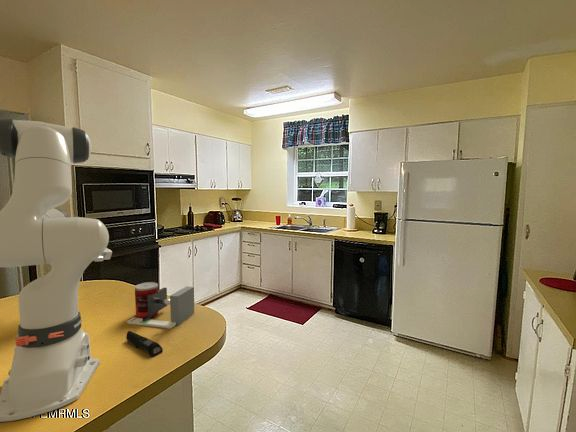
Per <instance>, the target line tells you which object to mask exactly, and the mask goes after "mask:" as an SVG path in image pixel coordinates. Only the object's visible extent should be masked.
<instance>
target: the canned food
mask: <svg viewBox="0 0 576 432" xmlns="http://www.w3.org/2000/svg"><path fill="white" fill-rule="evenodd" d="M158 290H159V284H158V283H157V282H154V281H149V282H141V283H138V284H136V285H135V286H134V298H135V300H134V301H135V316H136V318H145V317H146V316H148V297H147V296H148V295H150V294H152V293H154V292H156V291H158ZM158 314H159V311H158V312H156V313H154V314H153V315H151V318H154V317H155V316H157V315H158Z"/></svg>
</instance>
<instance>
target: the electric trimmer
mask: <svg viewBox="0 0 576 432" xmlns="http://www.w3.org/2000/svg"><path fill="white" fill-rule="evenodd" d="M125 338H126V341H128V342H129V343H130V344H131V345H132V346H133V347H135V348H140V349H142V350H143V351H145V352H147V353H148V356H149V357H153V358H154V357H156V356H158V355H160V354H162V353H163V351H164V350H163V347H162V346H161V345H160V343H158V342H157V341H153V340H152V339H149V338H148V337H145V336H142V335H140V334H138V333H135V332H133V331H132V330H128V331H127V333H126V336H125Z"/></svg>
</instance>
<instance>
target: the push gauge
mask: <svg viewBox="0 0 576 432" xmlns="http://www.w3.org/2000/svg"><path fill="white" fill-rule="evenodd" d="M169 299H170V305H169V306H170V310H169V311H170V321H167V320H159V319H151V318H149V319H148V320H146V321H143V318H138V317H135V316H134V317H133V316H132V318H130V319H128V320H127V321H126V324H131V325H137V326H138V325H139V326H145V327H146V326H148V327H155V328H162V329H163V328H164V329H173V327H175V326H176V325H177V326H179V325H180V324H182V323H184V322H185V321H186V320H187V319H188V317H189V316H190V317H191V316H193V315H194V314H195V287H194V286H185V287H182V288H181V289H179V290H177V291H176V292H174V293H173V294H171V295H169ZM193 313H194V314H193ZM192 314H193V315H192ZM190 317H189V318H190ZM184 320H185V321H184Z"/></svg>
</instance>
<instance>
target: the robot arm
mask: <svg viewBox="0 0 576 432" xmlns="http://www.w3.org/2000/svg"><path fill="white" fill-rule="evenodd" d="M92 149H93V145H92V141H91V138H90V137H89V134H88V133H87V132H86V131H85V130H83V129H81V128H77V127H75V126H73V127H68V126H66V125H60V124H54V123H48V122H44V121H37V120H28V119H27V120H23V119H20V120H19V119H17V120H16V119H15V118H0V155H1V156H3V157H8V158H11V159H15V161H14V180H13V189H12V193H11V195H10V198H9V200H8V202H6V204H5V205H4V207H2V209H1V210H0V268H3V269H4V268H7V269H10V268H18V267H26V266H27V267H28V266H36V265H37V266H39V265H50V266H51V268H50V269H51V270H50V271H49V272H47V273H46V274H45V275H43V276H39V277H38V278H36V279H34V280H32V281H31V282H29V283H28V284H27V285H25V286H24V287H23V288H22V289H21V291H20V292H19V294H18V298H17V300H18V314H19V325H18V327H17V333H16V339H15V346H14V347H13V357H12V363H11V367H10V369H9V371H8V376H9V377H7V378H6V379H4V381H3V383H2V387H1V390H0V422H3V423H4V422H13V421H17V420H22V419H27V418H32V417H35V416H39V415H42V414H46V413H48V412H49V413H50V412H52V411H55V410H57V409H60V408H63V407H64V406H67V405H69V404H71V403H73V402H75V401H76V400H78V399H79V398H80V396H81V394H82V393H83V391H84V390H85V388H86V386H87V385H88V384H89V381H90V380H91V378H92V377H93V374H94V373H95V372H96V370H97V368H98V367H99V365H100V360H99V358H96V357H92V349H91V341H90V334H88V333H87V331H84V330H83V329H82V316H81V312H80V311H79V286H80V281H81V278H82V276H83V274H84V272H85V270H86V269H87V268H88V267H89V265H90V264H91V263H92V262H97V263H98V262H104V260H111V257H112V254H113V251H112V250H111V249H109V248H108V245H109V241H110V235H109V231H108V228H107V226H106V225H105V224H104V223H103V222H102V221H101V220H100V219H97V218H90V217H82V216H81V217H80V216H70V215H69V214H68V213H66V212H65V211H64V210H62V209H60V208H57V207H60V206H62V205H64V204H65V203H66V202H68V201H69V200H70V198H71V197H72V194H73V182H72V181H73V180H72V179H73V178H72V163H73V164H82V163H85V162H86V161H88V160H89V158H90V155H91V154H92V151H93V150H92Z"/></svg>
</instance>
